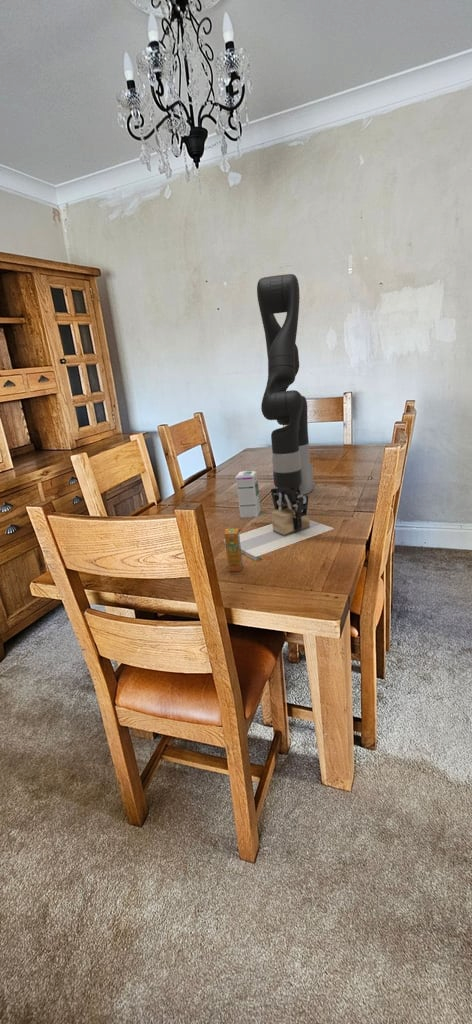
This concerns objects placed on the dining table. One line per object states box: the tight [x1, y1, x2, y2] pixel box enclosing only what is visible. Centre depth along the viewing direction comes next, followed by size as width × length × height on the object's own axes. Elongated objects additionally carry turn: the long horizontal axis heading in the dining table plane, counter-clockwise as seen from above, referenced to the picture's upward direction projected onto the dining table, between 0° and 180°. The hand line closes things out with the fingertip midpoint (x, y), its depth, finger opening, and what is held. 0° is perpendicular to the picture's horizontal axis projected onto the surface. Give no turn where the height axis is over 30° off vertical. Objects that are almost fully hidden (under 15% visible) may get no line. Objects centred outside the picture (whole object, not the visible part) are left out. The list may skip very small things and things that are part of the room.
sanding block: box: [271, 504, 310, 536], centre depth 132 cm, size 9×5×6 cm, turn 122°
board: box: [222, 519, 334, 562], centre depth 131 cm, size 26×16×1 cm, turn 122°
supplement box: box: [224, 527, 244, 572], centre depth 115 cm, size 3×3×10 cm
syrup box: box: [235, 470, 262, 519], centre depth 148 cm, size 6×6×14 cm
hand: (291, 527), depth 133 cm, fingers closed on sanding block, 5 cm apart
